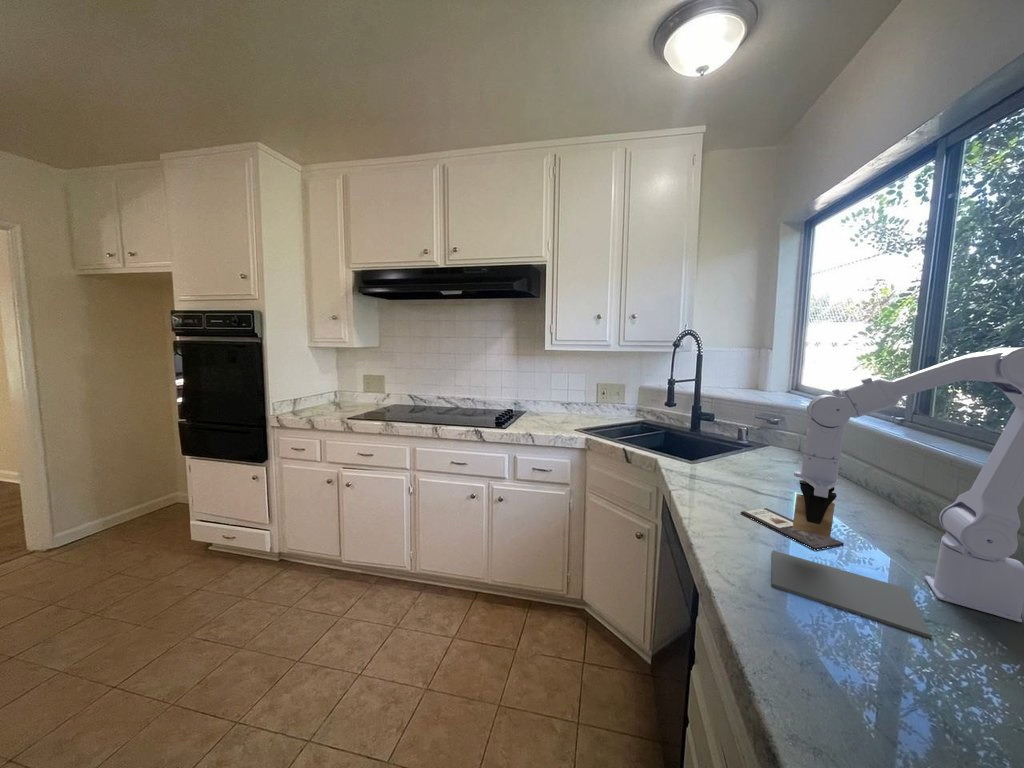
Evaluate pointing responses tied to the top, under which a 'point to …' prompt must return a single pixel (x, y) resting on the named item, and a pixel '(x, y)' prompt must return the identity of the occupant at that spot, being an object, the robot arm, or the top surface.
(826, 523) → the oak tile
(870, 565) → the top surface
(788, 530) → the chocolate bar
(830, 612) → the top surface
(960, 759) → the top surface
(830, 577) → the rubber mat
